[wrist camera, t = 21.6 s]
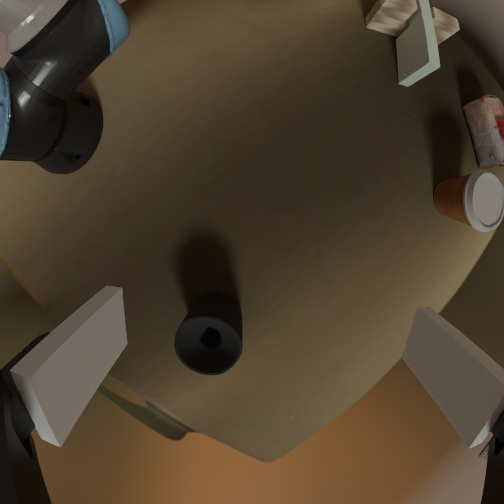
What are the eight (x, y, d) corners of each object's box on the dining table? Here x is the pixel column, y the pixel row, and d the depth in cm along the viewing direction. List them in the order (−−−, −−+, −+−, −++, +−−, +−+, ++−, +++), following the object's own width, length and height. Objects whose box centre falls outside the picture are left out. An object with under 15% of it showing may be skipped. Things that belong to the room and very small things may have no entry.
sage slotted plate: (408, 86, 39) (440, 66, 29) (398, 83, 39) (429, 62, 29) (397, -5, 35) (419, -31, 24) (389, -8, 35) (409, -35, 24)
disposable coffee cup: (447, 162, 42) (491, 157, 30) (469, 204, 43) (512, 208, 31) (417, 192, 43) (461, 193, 31) (442, 235, 44) (485, 246, 33)
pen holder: (180, 300, 47) (163, 325, 37) (233, 284, 46) (228, 308, 37) (200, 347, 49) (189, 380, 39) (251, 334, 48) (251, 367, 38)
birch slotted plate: (366, 27, 37) (388, -3, 26) (365, 17, 37) (386, -13, 26) (430, 50, 37) (459, 29, 27) (428, 40, 37) (457, 19, 26)
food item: (456, 102, 39) (486, 90, 30) (479, 101, 39) (509, 91, 29) (474, 169, 42) (508, 168, 32) (497, 164, 41) (528, 163, 32)
